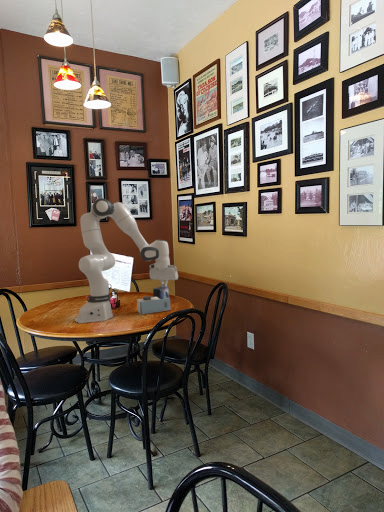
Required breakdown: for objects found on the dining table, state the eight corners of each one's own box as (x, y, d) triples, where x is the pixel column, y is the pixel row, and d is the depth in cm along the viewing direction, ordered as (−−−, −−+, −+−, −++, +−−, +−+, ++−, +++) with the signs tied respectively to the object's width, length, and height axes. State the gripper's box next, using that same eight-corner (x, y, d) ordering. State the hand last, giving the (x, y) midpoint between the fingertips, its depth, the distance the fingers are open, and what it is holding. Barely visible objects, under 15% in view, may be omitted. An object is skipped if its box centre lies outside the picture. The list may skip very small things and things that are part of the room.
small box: (160, 304, 245) (159, 289, 244) (153, 303, 249) (152, 288, 248) (169, 301, 254) (169, 286, 253) (162, 300, 258) (161, 285, 257)
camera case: (141, 314, 220) (140, 299, 219) (137, 311, 227) (136, 296, 226) (161, 311, 225) (160, 296, 224) (157, 308, 232) (156, 294, 231)
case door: (141, 314, 218) (140, 302, 217) (140, 314, 219) (139, 301, 219) (171, 310, 225) (170, 298, 225) (170, 309, 227) (169, 297, 226)
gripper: (179, 264, 223) (180, 286, 224) (153, 264, 234) (155, 285, 235) (173, 265, 218) (175, 288, 219) (147, 265, 228) (149, 286, 230)
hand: (164, 286), depth 227 cm, fingers closed
